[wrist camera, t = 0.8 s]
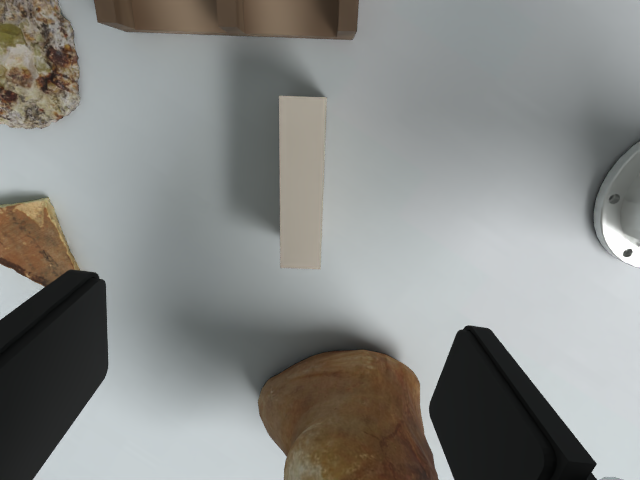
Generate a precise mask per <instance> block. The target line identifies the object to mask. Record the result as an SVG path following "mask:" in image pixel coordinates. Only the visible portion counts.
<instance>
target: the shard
mask: <svg viewBox="0 0 640 480" xmlns="http://www.w3.org/2000/svg"><path fill="white" fill-rule="evenodd" d="M0 264H2V265H4V266H6V267H8V268H12V269H14V270H15V271H16V272H17V273H19V274H21V275H23V276H25V277H27V278H29V279H31V280H32V281H34V282H36V283H38V284H41V285H42V286H45V287H46V286H47V285H49V284H50V283H51V282H53V281H54V280H55V279H57V278H58V277H60V276H61V275H62V274H64V273H65V272H66V271H68V270H70V269H72V270H80V269H79V267H78V265H77V263H76V261H75V259H74V257H73V255H72V254H71V253H70V250H69V247H68V245H67V242H66V240H65V236H64V235H63V232H62V230H61V227H60V225H59V222H58V219H57V217H56V213H55V211H54V207H53V206H52V205H51V203H50V201H49V198H48V197H47V198H41V199H38V200H32V201H27V202H21V203H15V204H2V205H0Z"/></svg>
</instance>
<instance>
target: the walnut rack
mask: <svg viewBox="0 0 640 480" xmlns="http://www.w3.org/2000/svg"><path fill="white" fill-rule="evenodd" d="M94 3H95V9H96V15H97V21H98V22H99V23H102V24H105V25H108V26H111V27H114V28H117V29H120V30H123V31H126V32H147V33H174V34H202V35H230V36H258V37H285V38H313V39H341V40H353V38H354V36H355V34H356V32H357V20H358V4H359V0H94Z"/></svg>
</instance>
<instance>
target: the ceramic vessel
mask: <svg viewBox="0 0 640 480" xmlns="http://www.w3.org/2000/svg"><path fill="white" fill-rule="evenodd" d="M258 406H259V414H260V417H261V419H262V421H263V424H264V426H265V428H266V430H267V432H268V434H269V436H270V437H271V438H272V439H273V441H274V442H275V443H276V444H277V445H278V446H279V448H280V449H281V450H282V451H283V452H284V454H285V455H286V456H287V458H286V462H285V468H284V480H439V479H438V475H437V472H436V470H435V466H434V459H433V454H432V452H431V449H430V447H429V445H428V443H427V440H426V438H425V435H424V428H423V422H422V417H421V410H420V383H419V381H418V378H417V377H416V375H415V374H414V372H413V371H412V370H411V369H410V368H409V367H407V366H406V365H404V364H403V363H401V362H399V361H397V360H396V359H394V358H392V357H390V356H388V355H386V354H382V353H378V352H373V351H368V350H363V349H361V350H344V351H331V352H324V353H321V354H317V355H314V356H311V357H309V358H307V359H305V360H303V361H301V362H299V363H297V364H295V365H293V366H291V367H289V368H288V369H286V370H284V371H283V372H281V373H279V374H278V375H276V376H274V377H272V378H270V379H269V380H268V381H267V382H266V383H265V385H264V386H263V388H262V390H261V393H260V396H259V399H258Z"/></svg>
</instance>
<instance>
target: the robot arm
mask: <svg viewBox="0 0 640 480" xmlns="http://www.w3.org/2000/svg"><path fill="white" fill-rule="evenodd" d="M594 227H595V230H596V234H597V237H598V239H599V241H600V242H601V244H602V246H603V247H604V248H605V249H606V250H607V251H608V252H609V253H610V254H611V255H612V256H614V257H616V258H617V259H619V260H621V261H622V262H625V263H627V264H629V265H631V266H634V267H638V268H640V141H639V142H638V143H636V144H635V145H634V146H632V147H631V148H630V149H629V150H628V151H627V152H626V153H625V154H624V155H623V156H622V157H621V158H620V159H619V160H618V161H617V162H616V164H615V165H614V166H613V167H612V169H611V170H610V171H609V173H608V174H607V176H606V178H605V180H604V181H603V183H602V185H601V187H600V190H599V193H598V195H597V198H596V202H595V208H594ZM107 370H108V340H107V309H106V284H105V281H104V280H102V279H99V276H98V274H97V273H94V272H87V271H80V270H72V269H70V270H68V271H66V272H65V273H64V274H62V275H61V276H60V277H58V278H57V279H55V280H54V281H53V282H51V283H50V284H49V285H47V286H46V287H45V288H43V289H42V290H40V291H39V292H38V293H36V294H35V295H34V296H32V297H31V298H30V299H28V300H27V301H26V302H24V303H23V304H21V305H20V306H19V307H17V308H16V309H15V310H13V311H12V312H11V313H9V314H8V315H6V316H5V317H4V318H2V319H1V320H0V480H33V478H34V477H35V476H36V474H37V473H38V471H39V470H40V469H41V467H42V466H43V464H44V463H45V462H46V460H47V459H48V457H49V456H50V455H51V453H52V452H53V450H54V449H55V447H56V446H57V445H58V443H59V442H60V440H61V439H62V438H63V436H64V435H65V433H66V432H67V431H68V429H69V428H70V426H71V425H72V424H73V422H74V421H75V419H76V418H77V417H78V415H79V414H80V412H81V411H82V409H83V408H84V407H85V405H86V404H87V402H88V401H89V400H90V398H91V397H92V395H93V394H94V393H95V391H96V390H97V388H98V387H99V386H100V384H101V383H102V381H103V380H104V378H105V376H106V373H107ZM429 413H430V418H431V420H432V423H433V426H434V428H435V431H436V433H437V436H438V438H439V441H440V444H441V446H442V449H443V451H444V454H445V456H446V459H447V462H448V464H449V467H450V469H451V472H452V475H453V477H454V480H597V479H596V478H595V477H594V475H593V474H592V473H591V472H592V471H593V469H594V467H595V466H596V462H595V461H594V460H593V459H592V457H591V456H590V455H589V454H588V452H587V451H586V450H585V448H584V447H583V446H582V445H581V443H580V442H579V441H578V440H577V438H576V437H575V436H574V435H573V433H572V432H571V431H570V430H569V428H568V427H567V426H566V424H565V423H564V422H563V421H562V419H561V418H560V417H559V416H558V414H557V413H556V412H555V411H554V409H553V408H552V407H551V405H550V404H549V403H548V402H547V400H546V399H545V398H544V397H543V395H542V394H541V393H540V392H539V390H538V389H537V388H536V387H535V385H534V384H533V383H532V381H531V380H530V379H529V378H528V376H527V375H526V374H525V373H524V371H523V370H522V369H521V368H520V366H519V365H518V364H517V362H516V361H515V360H514V359H513V357H512V356H511V355H510V354H509V352H508V351H507V350H506V349H505V347H504V346H503V345H502V343H501V342H500V341H499V340H498V338H497V337H496V336H495V335H494V333H493V332H492V331H491V330H490V329H488V328H483V327H476V326H469V325H468V326H466V327H465V328H464V329H463V330H459V331H458V332H457V334H456V336H455V339H454V342H453V344H452V347H451V349H450V352H449V355H448V357H447V360H446V362H445V365H444V368H443V370H442V373H441V375H440V378H439V381H438V383H437V386H436V388H435V391H434V393H433V396H432V399H431V401H430V405H429ZM600 480H622V479H619V478H616V477H604V478H602V479H600Z"/></svg>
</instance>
